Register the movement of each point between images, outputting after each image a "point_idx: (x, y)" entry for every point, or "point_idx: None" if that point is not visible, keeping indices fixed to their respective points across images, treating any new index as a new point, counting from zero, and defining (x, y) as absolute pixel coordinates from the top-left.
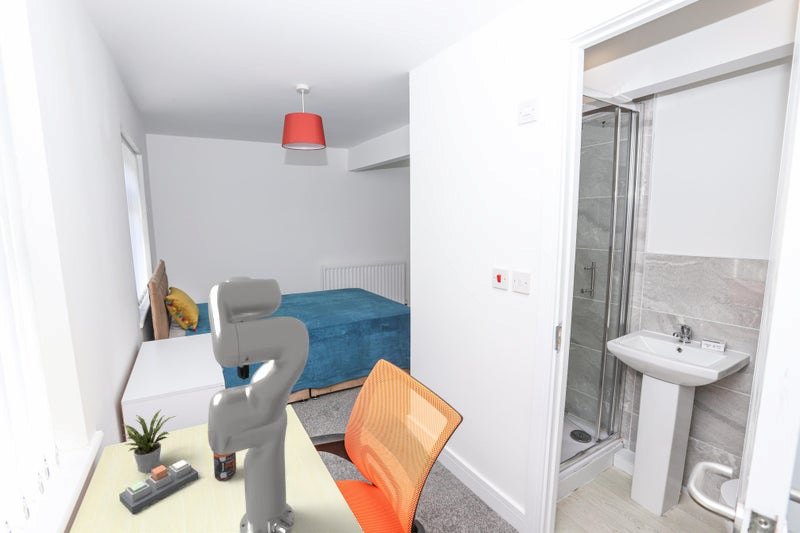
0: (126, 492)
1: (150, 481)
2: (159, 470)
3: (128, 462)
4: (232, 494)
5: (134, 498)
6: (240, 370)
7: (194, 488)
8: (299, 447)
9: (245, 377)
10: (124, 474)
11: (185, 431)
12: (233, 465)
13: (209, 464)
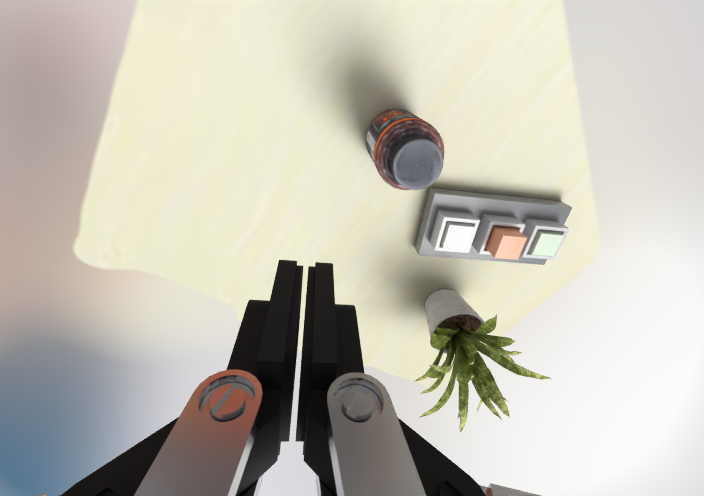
0: None
1: None
2: (513, 243)
3: None
4: (444, 45)
5: (559, 223)
6: (359, 353)
7: (460, 162)
8: (166, 26)
9: (320, 269)
10: None
11: None
12: (395, 113)
13: (380, 210)
